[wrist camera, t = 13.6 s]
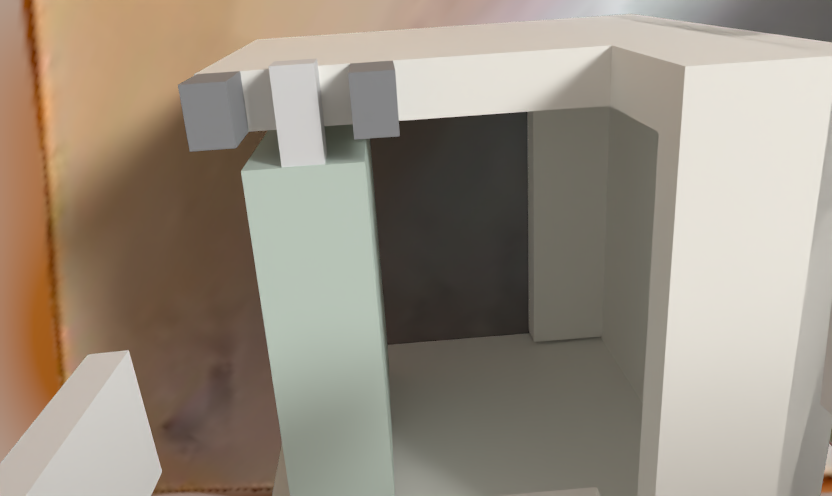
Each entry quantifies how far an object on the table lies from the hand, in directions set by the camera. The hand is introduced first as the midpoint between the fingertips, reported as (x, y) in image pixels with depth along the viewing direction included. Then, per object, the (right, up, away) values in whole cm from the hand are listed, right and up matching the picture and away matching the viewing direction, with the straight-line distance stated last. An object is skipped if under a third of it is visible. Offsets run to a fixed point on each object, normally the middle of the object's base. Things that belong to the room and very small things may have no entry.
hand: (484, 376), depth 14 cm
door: (-5, +3, +23) cm, 24 cm away
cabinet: (+1, +4, +27) cm, 27 cm away
